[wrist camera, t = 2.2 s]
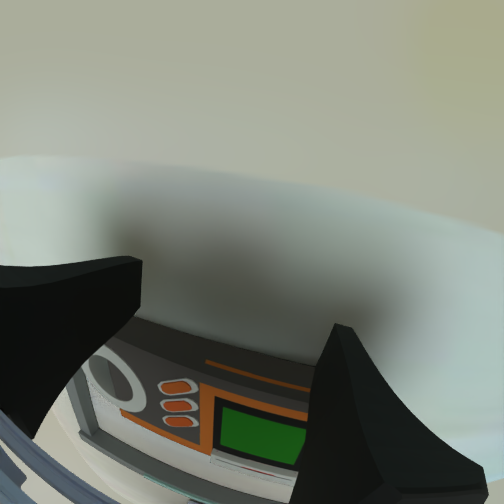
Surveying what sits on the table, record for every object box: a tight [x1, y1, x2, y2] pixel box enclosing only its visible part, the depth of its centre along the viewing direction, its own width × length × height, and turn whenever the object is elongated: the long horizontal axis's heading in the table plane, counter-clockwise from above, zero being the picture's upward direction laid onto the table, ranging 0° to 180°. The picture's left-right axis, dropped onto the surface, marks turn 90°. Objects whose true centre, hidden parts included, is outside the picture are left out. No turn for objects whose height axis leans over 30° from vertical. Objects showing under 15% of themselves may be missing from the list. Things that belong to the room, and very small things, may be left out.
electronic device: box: [81, 316, 315, 486], centre depth 13 cm, size 7×3×15 cm
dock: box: [66, 367, 285, 504], centre depth 15 cm, size 10×21×2 cm, turn 77°
